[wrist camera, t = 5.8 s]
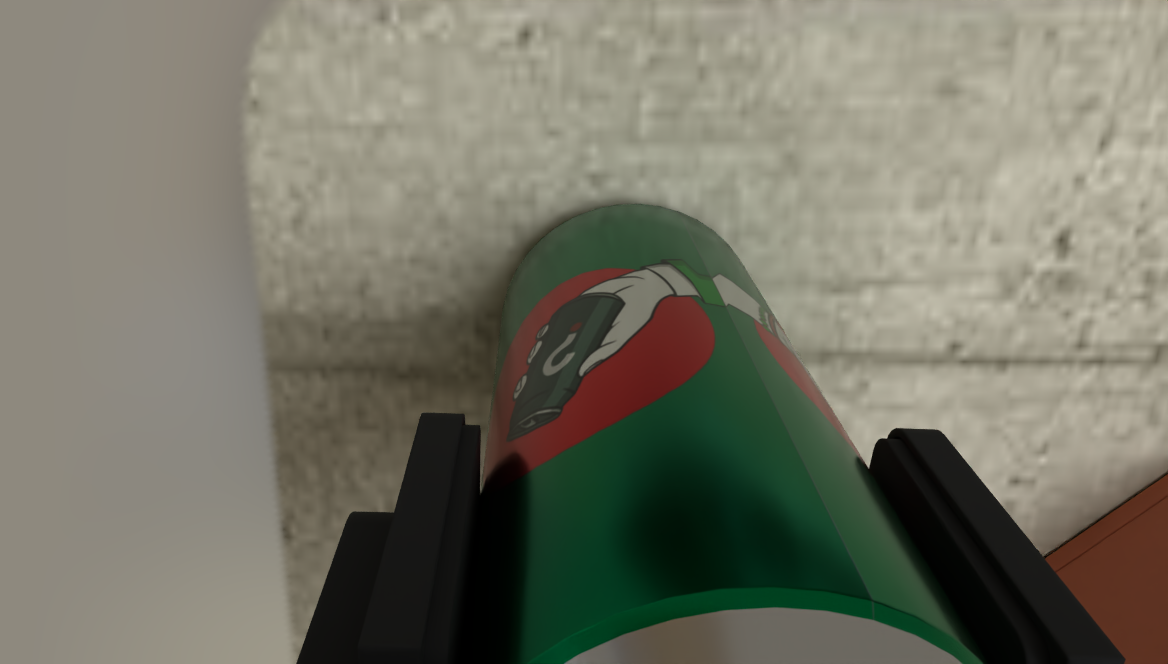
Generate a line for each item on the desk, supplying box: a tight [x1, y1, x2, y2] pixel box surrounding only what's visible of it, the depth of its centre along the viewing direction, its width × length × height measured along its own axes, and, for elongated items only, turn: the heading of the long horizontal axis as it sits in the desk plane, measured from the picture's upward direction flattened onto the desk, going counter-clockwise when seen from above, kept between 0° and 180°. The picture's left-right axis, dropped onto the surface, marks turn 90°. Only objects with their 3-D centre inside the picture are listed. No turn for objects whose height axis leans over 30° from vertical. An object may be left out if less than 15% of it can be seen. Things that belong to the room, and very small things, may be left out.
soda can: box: [459, 204, 988, 664], centre depth 12 cm, size 5×5×12 cm
